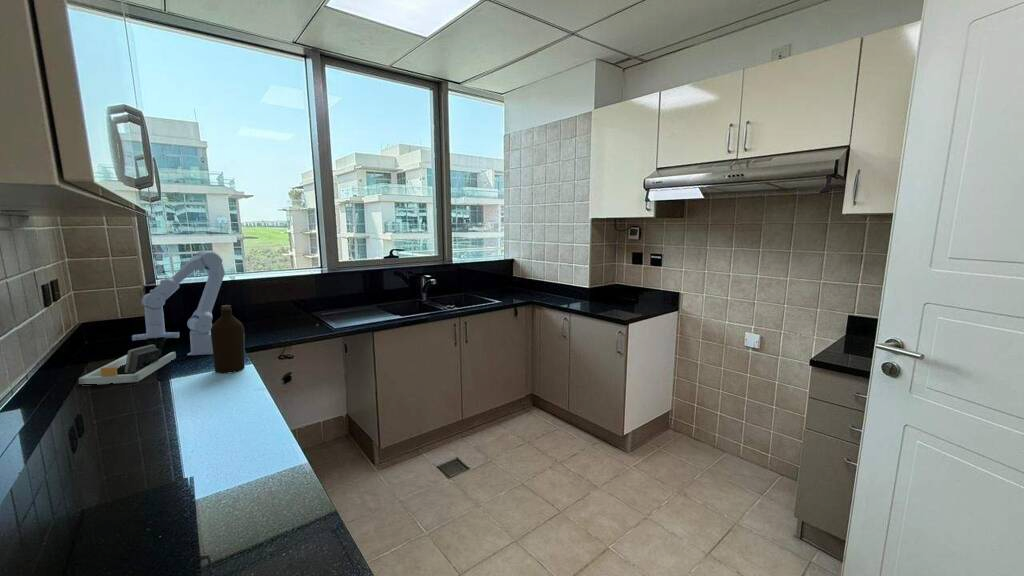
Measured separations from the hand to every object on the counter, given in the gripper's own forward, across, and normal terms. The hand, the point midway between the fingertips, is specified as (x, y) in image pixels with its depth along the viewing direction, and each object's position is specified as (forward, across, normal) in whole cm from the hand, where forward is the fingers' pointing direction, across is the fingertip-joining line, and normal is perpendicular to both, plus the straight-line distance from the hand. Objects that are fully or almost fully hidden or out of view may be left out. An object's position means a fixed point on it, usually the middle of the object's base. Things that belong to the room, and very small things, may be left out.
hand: (157, 356), depth 168 cm
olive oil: (+2, -28, +22) cm, 36 cm away
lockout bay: (+2, +5, +11) cm, 12 cm away
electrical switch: (+2, +1, +12) cm, 12 cm away
